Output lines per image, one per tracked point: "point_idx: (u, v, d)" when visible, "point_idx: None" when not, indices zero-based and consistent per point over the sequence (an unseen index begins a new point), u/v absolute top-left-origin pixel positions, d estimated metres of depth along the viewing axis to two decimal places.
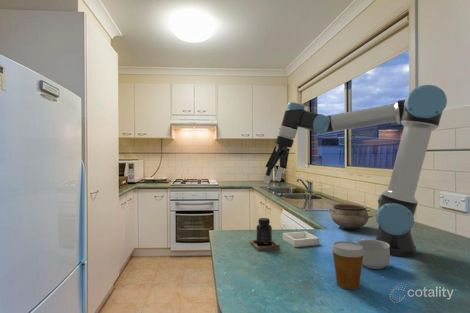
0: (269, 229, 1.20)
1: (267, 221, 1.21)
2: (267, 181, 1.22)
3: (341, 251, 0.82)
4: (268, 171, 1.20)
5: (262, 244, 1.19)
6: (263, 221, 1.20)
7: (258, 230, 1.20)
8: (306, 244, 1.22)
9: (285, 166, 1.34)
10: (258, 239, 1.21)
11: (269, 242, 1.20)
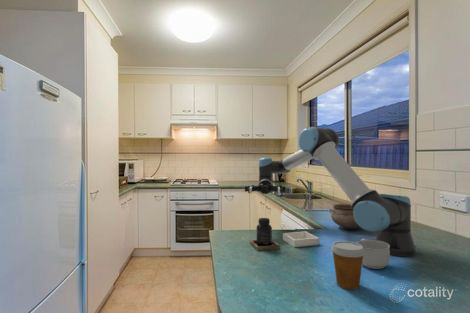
0: (269, 229, 1.20)
1: (267, 221, 1.21)
2: (249, 189, 1.34)
3: (341, 251, 0.81)
4: (247, 189, 1.38)
5: (262, 244, 1.19)
6: (263, 221, 1.20)
7: (258, 230, 1.20)
8: (306, 244, 1.22)
9: None
10: (258, 239, 1.21)
11: (269, 242, 1.20)
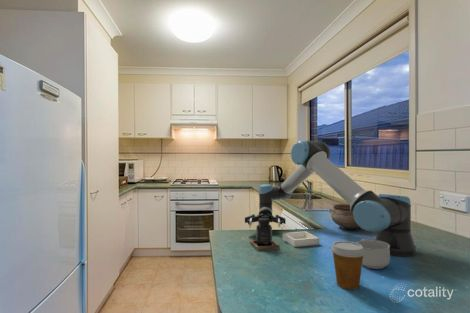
0: (269, 229, 1.20)
1: (267, 221, 1.21)
2: None
3: (341, 251, 0.81)
4: (247, 221, 1.38)
5: (262, 244, 1.19)
6: (263, 221, 1.20)
7: (258, 230, 1.20)
8: (306, 244, 1.22)
9: None
10: (258, 239, 1.21)
11: (269, 242, 1.20)
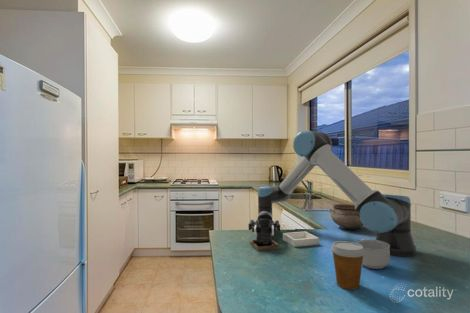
0: (269, 229, 1.20)
1: (267, 221, 1.21)
2: (254, 229, 1.19)
3: (341, 251, 0.82)
4: (252, 228, 1.23)
5: (262, 244, 1.19)
6: (263, 221, 1.20)
7: (258, 230, 1.20)
8: (306, 244, 1.22)
9: (275, 224, 1.24)
10: (258, 239, 1.21)
11: (269, 242, 1.20)
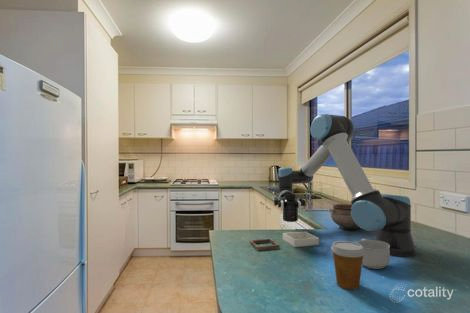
0: (295, 203, 1.24)
1: (293, 196, 1.25)
2: (281, 204, 1.23)
3: (341, 251, 0.81)
4: (278, 203, 1.28)
5: (289, 217, 1.24)
6: (290, 196, 1.25)
7: (285, 204, 1.25)
8: (306, 244, 1.22)
9: (301, 200, 1.29)
10: (285, 213, 1.25)
11: (295, 216, 1.24)
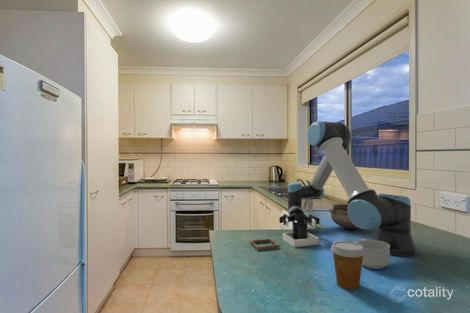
0: (305, 224, 1.26)
1: (303, 217, 1.26)
2: (286, 222, 1.26)
3: (341, 251, 0.82)
4: (283, 221, 1.30)
5: (299, 238, 1.25)
6: (299, 217, 1.26)
7: (295, 225, 1.26)
8: (306, 244, 1.22)
9: None
10: (295, 234, 1.26)
11: (305, 237, 1.26)
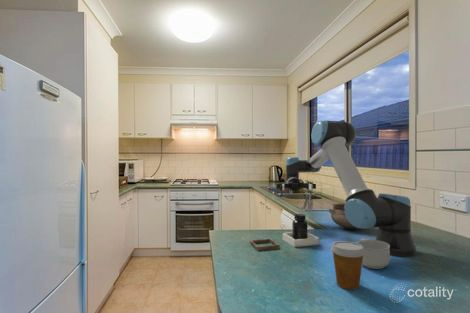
0: (305, 224, 1.26)
1: (303, 217, 1.26)
2: (282, 186, 1.40)
3: (341, 251, 0.82)
4: (280, 186, 1.45)
5: (299, 238, 1.25)
6: (300, 217, 1.26)
7: (295, 225, 1.26)
8: (306, 244, 1.22)
9: (312, 183, 1.45)
10: (295, 234, 1.26)
11: (305, 237, 1.26)
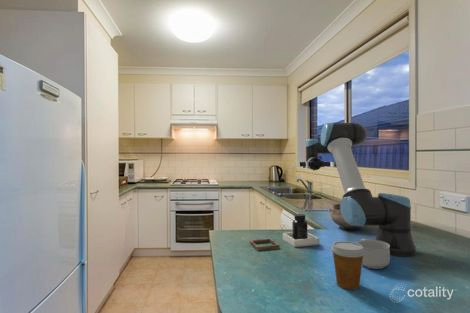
0: (305, 224, 1.26)
1: (303, 217, 1.26)
2: (306, 163, 1.51)
3: (341, 251, 0.82)
4: (303, 164, 1.55)
5: (299, 238, 1.25)
6: (299, 217, 1.26)
7: (295, 225, 1.26)
8: (306, 244, 1.22)
9: (333, 161, 1.56)
10: (295, 234, 1.26)
11: (305, 237, 1.26)
